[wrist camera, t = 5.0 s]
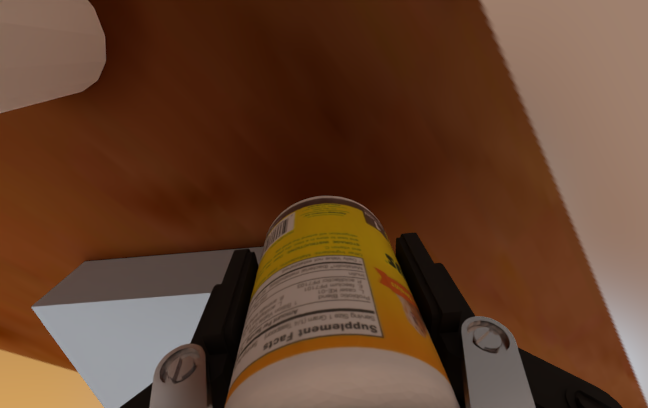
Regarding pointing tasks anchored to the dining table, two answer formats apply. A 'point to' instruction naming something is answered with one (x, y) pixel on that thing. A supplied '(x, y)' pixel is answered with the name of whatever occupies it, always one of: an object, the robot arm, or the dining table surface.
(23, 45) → the white cup
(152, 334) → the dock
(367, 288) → the supplement bottle
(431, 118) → the dining table surface
